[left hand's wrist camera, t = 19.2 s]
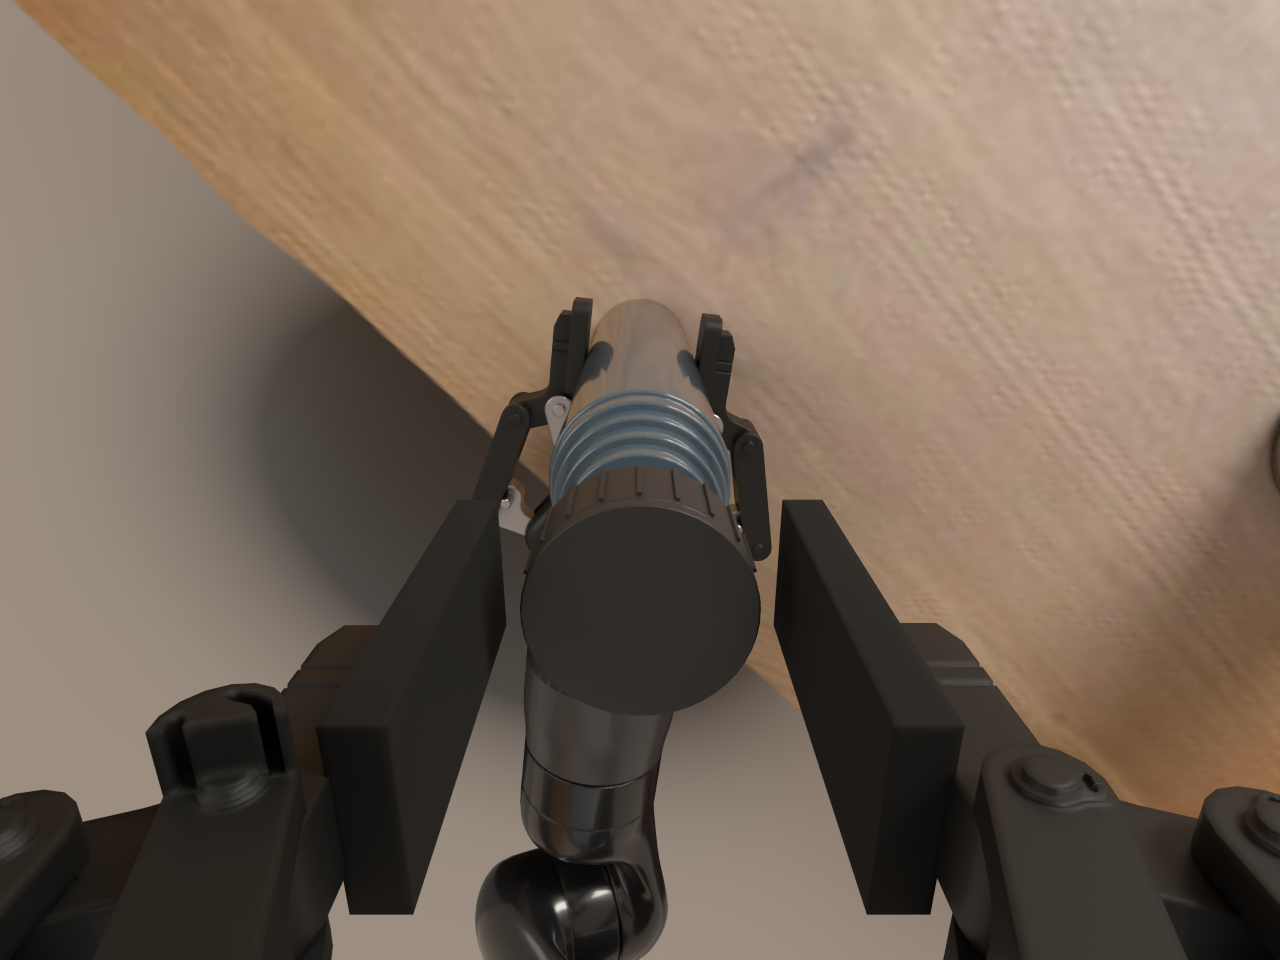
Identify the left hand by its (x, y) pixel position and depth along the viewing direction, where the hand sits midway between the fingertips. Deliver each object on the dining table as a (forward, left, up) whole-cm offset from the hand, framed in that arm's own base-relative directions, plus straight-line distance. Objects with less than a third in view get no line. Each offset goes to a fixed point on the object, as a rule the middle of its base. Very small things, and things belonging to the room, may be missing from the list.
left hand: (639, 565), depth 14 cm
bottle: (0, 0, -25) cm, 25 cm away
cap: (0, 0, +2) cm, 2 cm away
